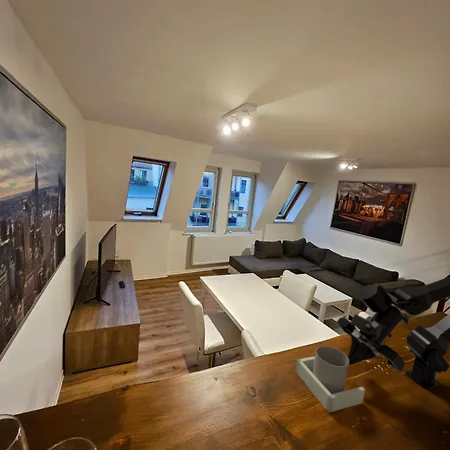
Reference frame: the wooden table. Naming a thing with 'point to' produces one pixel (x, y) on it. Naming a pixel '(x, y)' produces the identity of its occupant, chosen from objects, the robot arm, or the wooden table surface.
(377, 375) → the wooden table surface
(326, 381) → the cup
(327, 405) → the u-shaped wall frame
